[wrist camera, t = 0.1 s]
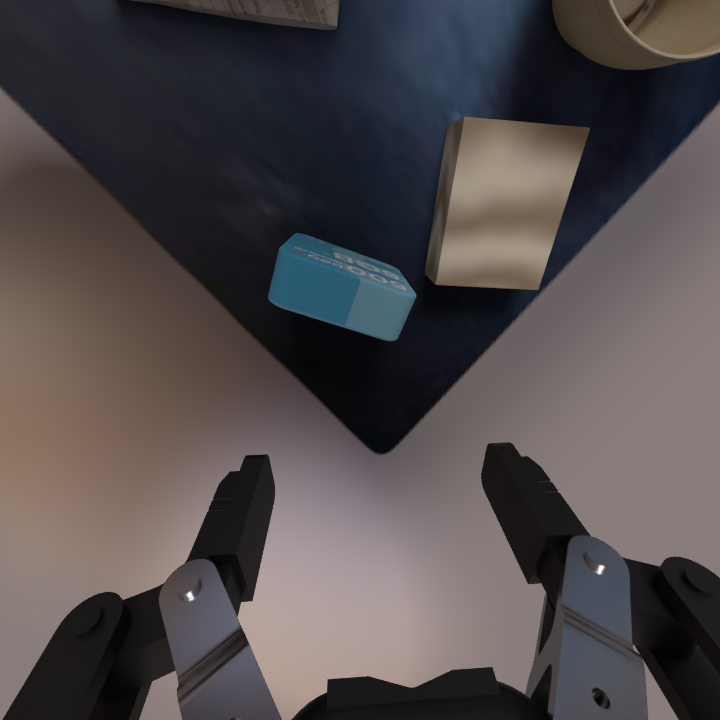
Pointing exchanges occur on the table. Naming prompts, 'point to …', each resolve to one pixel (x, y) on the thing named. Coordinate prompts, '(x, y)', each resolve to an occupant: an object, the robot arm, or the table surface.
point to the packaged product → (266, 11)
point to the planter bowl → (640, 30)
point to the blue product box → (340, 287)
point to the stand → (500, 201)
